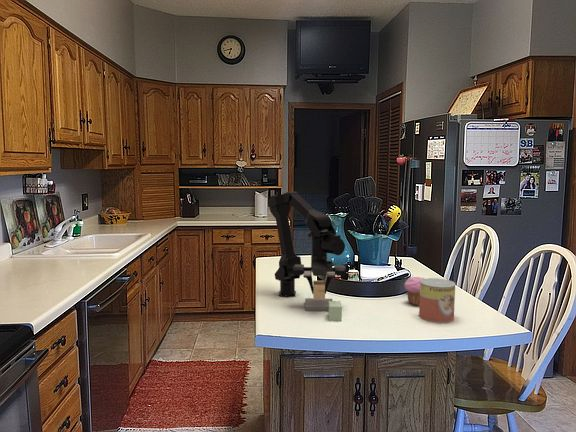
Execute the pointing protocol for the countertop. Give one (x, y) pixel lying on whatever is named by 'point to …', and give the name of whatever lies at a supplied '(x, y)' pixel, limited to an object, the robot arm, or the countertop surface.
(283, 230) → the robot arm
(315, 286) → the oak brick
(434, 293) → the canned food
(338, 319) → the sage brick
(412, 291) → the cupcake
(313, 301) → the grey baseplate
